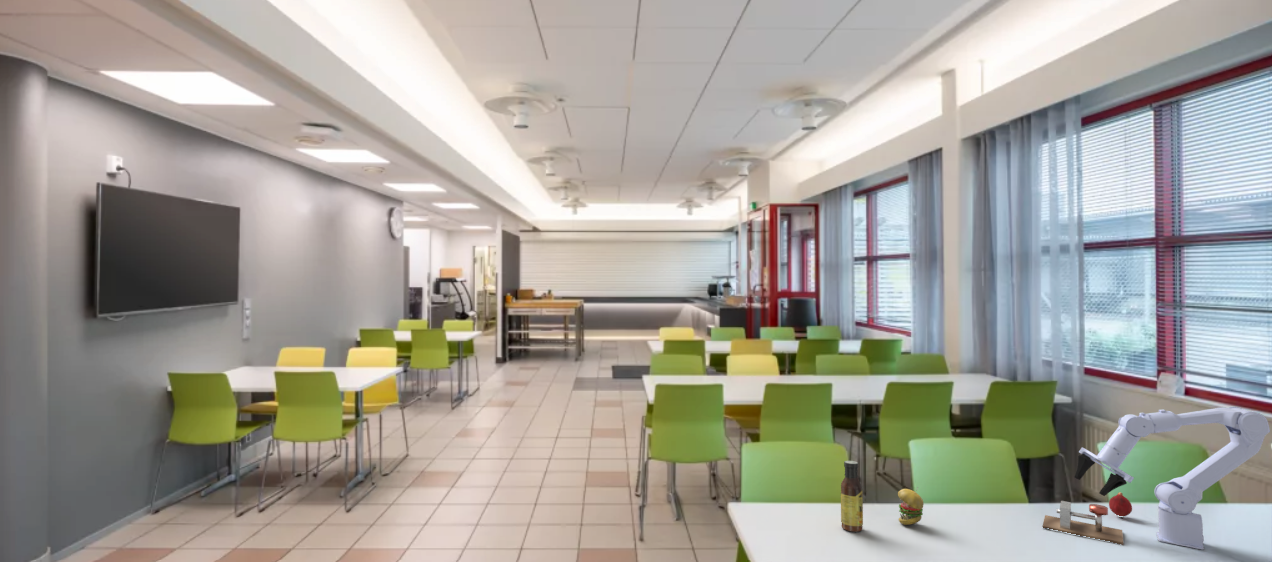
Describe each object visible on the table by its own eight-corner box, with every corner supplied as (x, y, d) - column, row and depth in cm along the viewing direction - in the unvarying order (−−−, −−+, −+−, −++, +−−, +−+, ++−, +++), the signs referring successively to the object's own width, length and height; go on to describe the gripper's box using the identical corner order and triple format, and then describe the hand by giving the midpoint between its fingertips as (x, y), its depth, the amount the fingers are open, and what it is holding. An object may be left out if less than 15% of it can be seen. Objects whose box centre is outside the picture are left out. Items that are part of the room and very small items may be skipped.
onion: (1132, 522, 184) (1132, 496, 184) (1109, 518, 188) (1109, 493, 188) (1131, 517, 189) (1131, 492, 189) (1108, 513, 192) (1108, 488, 193)
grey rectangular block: (1070, 521, 182) (1070, 502, 182) (1070, 529, 175) (1069, 509, 176) (1061, 520, 183) (1061, 500, 183) (1060, 527, 177) (1059, 507, 177)
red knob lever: (1108, 529, 175) (1107, 506, 175) (1108, 534, 171) (1107, 510, 172) (1057, 519, 182) (1056, 497, 183) (1056, 524, 179) (1056, 500, 179)
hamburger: (900, 518, 185) (900, 480, 186) (925, 523, 181) (925, 484, 181) (895, 526, 179) (895, 486, 179) (921, 531, 175) (921, 491, 175)
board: (1122, 532, 176) (1122, 529, 176) (1123, 545, 166) (1123, 542, 166) (1045, 517, 187) (1045, 515, 187) (1042, 528, 178) (1042, 526, 178)
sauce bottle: (864, 533, 172) (864, 465, 173) (842, 531, 174) (842, 464, 174) (860, 525, 179) (860, 460, 180) (839, 523, 180) (839, 458, 181)
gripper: (1085, 432, 181) (1059, 468, 183) (1135, 461, 168) (1106, 499, 170) (1096, 439, 184) (1071, 474, 186) (1146, 467, 171) (1118, 504, 173)
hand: (1089, 486), depth 178 cm, fingers open, 7 cm apart
